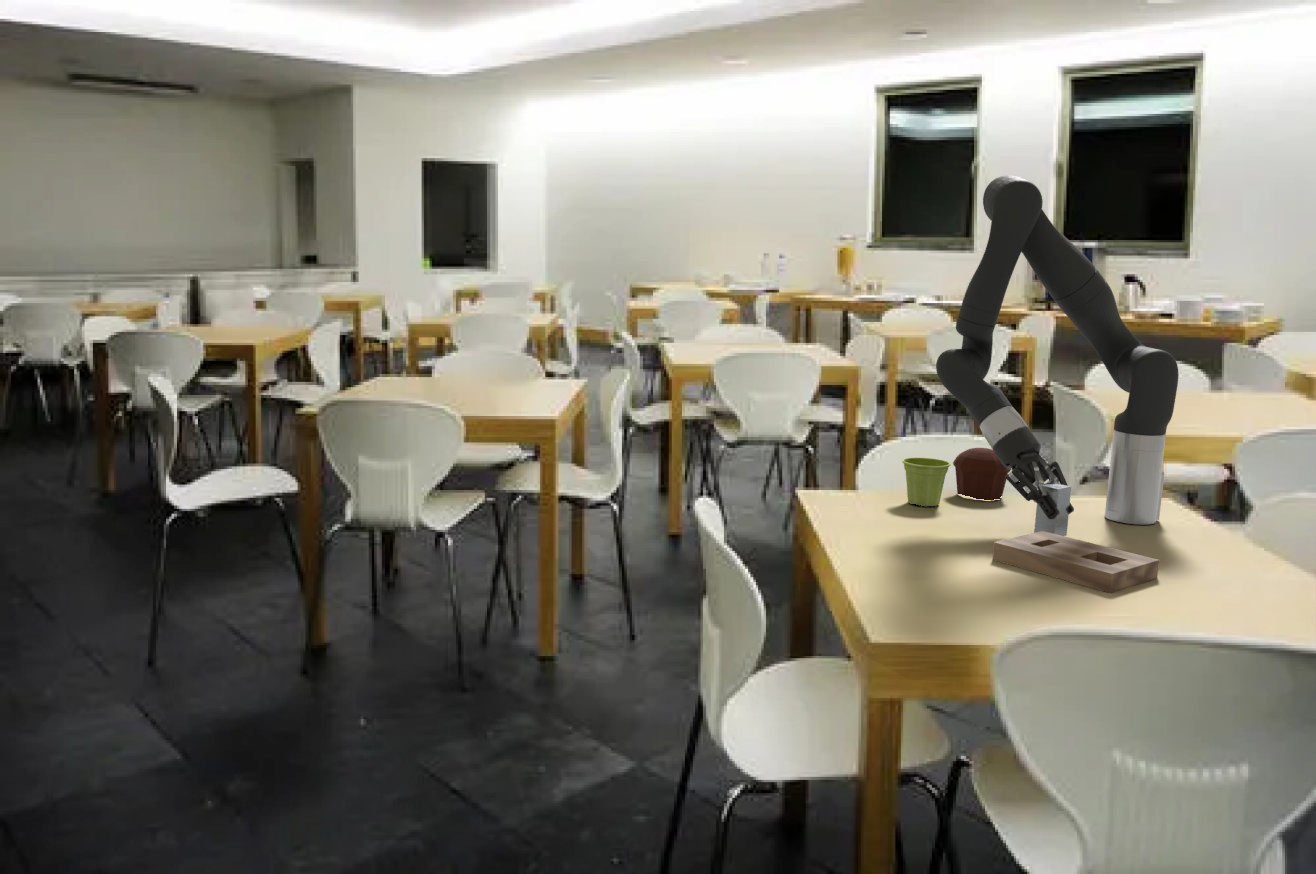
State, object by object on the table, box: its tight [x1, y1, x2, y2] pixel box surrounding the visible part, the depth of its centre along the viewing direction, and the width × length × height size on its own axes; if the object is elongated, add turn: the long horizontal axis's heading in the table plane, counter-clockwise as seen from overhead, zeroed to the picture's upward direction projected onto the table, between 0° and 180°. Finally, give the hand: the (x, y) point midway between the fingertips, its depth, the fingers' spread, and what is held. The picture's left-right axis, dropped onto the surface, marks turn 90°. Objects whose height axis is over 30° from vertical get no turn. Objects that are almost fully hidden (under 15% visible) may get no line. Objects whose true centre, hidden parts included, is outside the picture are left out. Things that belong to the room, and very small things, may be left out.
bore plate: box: [992, 531, 1160, 594], centre depth 186 cm, size 14×21×3 cm, turn 39°
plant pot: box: [901, 457, 952, 507], centre depth 228 cm, size 9×9×9 cm
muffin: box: [952, 447, 1012, 500], centre depth 236 cm, size 12×11×10 cm
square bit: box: [1033, 482, 1072, 537], centre depth 205 cm, size 4×4×9 cm
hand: (1062, 514), depth 203 cm, fingers closed on square bit, 4 cm apart
